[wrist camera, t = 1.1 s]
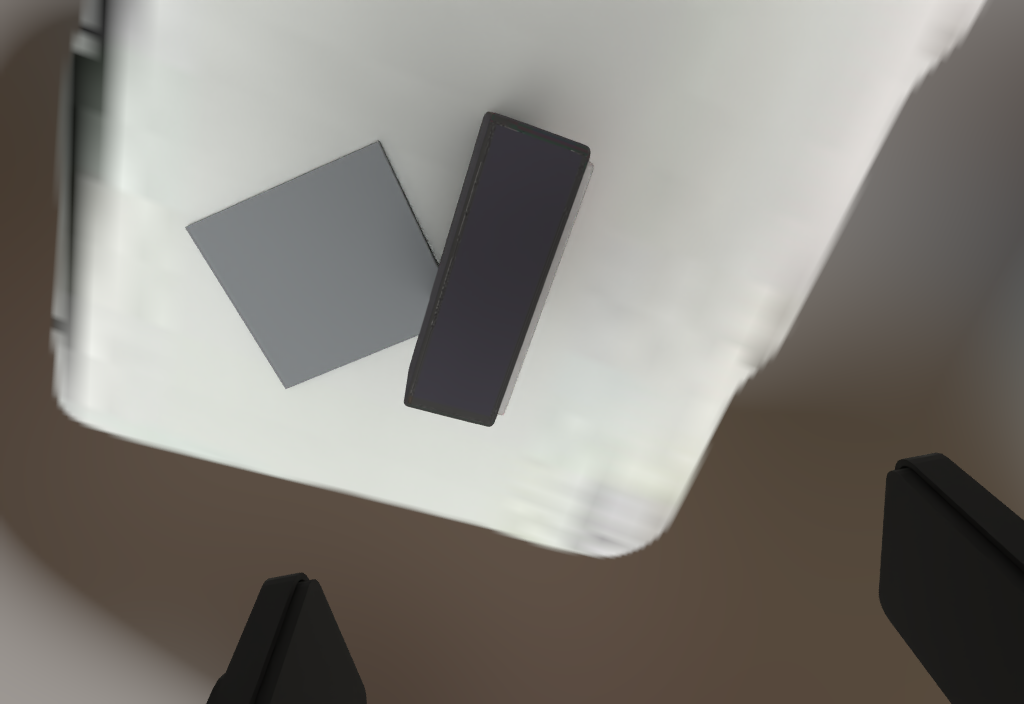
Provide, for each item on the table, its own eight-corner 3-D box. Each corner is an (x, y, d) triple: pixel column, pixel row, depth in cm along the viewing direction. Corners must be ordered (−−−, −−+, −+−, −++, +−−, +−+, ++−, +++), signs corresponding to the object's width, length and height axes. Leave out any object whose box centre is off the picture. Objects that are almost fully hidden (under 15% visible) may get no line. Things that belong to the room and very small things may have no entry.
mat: (379, 141, 34) (378, 141, 34) (461, 315, 38) (461, 317, 38) (187, 225, 35) (185, 227, 35) (287, 386, 40) (285, 388, 39)
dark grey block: (487, 316, 38) (510, 437, 24) (418, 296, 37) (401, 409, 23) (548, 135, 35) (615, 155, 21) (473, 108, 34) (492, 111, 20)
